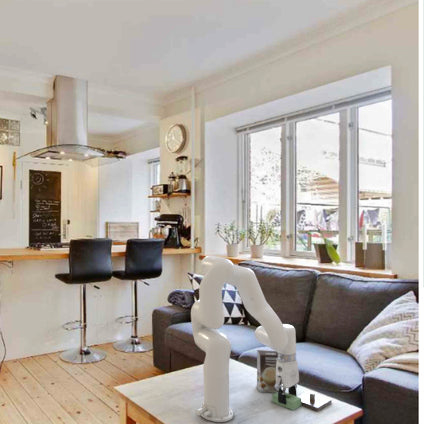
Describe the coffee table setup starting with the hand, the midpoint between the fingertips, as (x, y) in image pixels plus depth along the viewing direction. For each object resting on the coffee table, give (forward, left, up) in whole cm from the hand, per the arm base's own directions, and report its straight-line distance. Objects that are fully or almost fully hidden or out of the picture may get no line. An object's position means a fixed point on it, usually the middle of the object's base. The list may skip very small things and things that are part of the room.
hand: (287, 399), depth 169 cm
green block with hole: (0, 0, -2) cm, 2 cm away
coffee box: (+6, +12, -2) cm, 14 cm away
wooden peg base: (+8, -6, -2) cm, 10 cm away
